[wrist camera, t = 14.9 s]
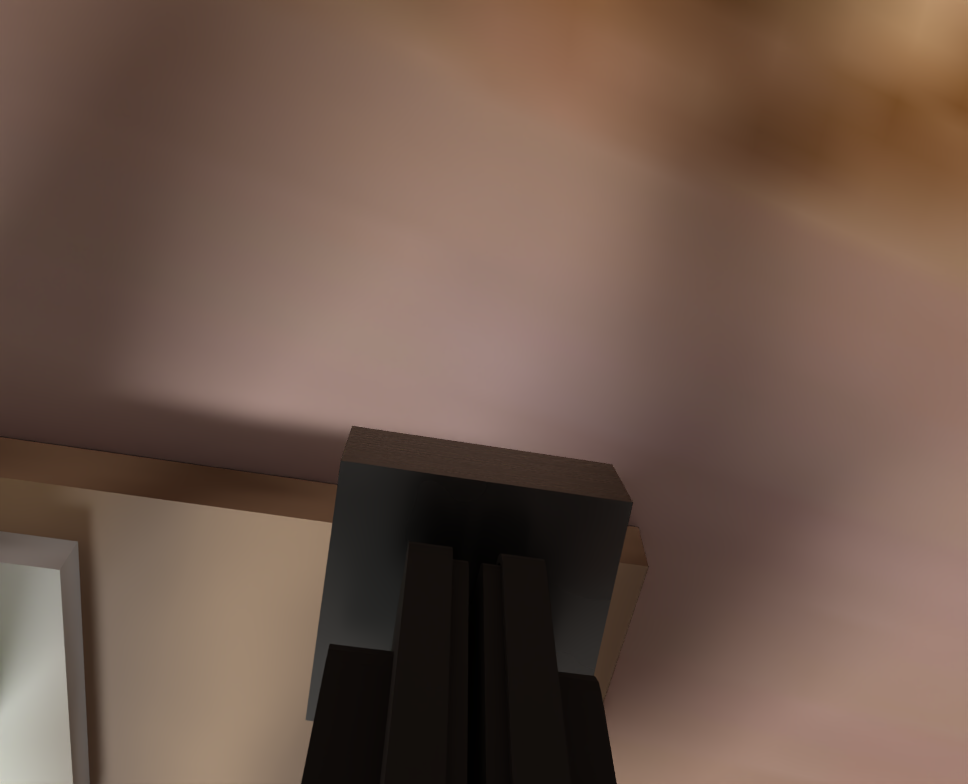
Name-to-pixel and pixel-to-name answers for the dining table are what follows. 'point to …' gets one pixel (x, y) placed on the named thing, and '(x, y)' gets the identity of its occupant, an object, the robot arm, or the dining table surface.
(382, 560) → the lever
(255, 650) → the base
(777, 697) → the dining table surface
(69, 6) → the dining table surface
